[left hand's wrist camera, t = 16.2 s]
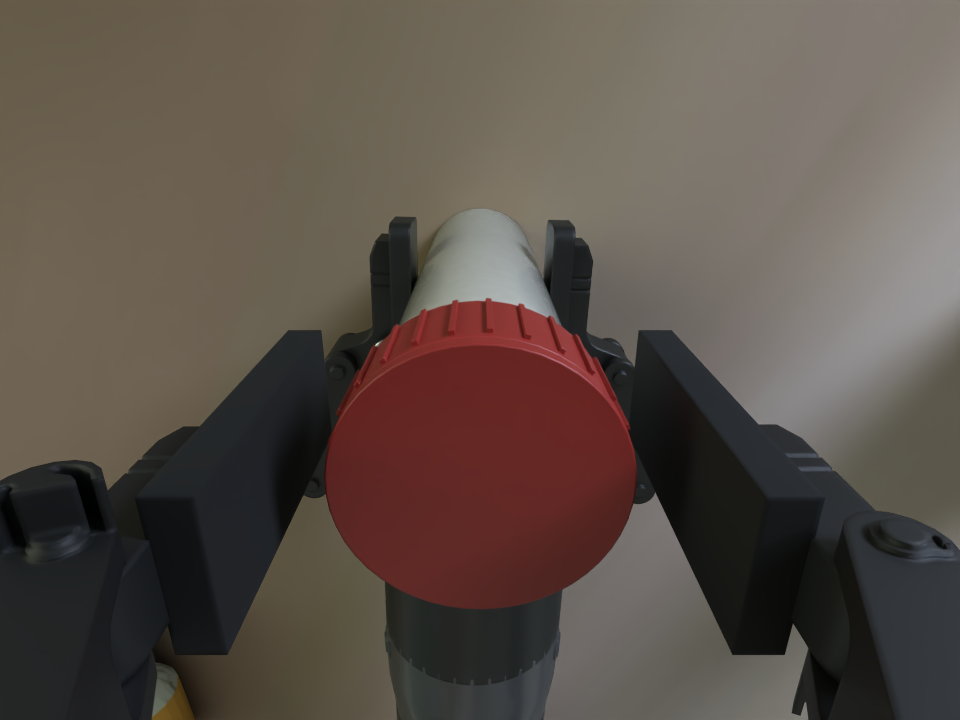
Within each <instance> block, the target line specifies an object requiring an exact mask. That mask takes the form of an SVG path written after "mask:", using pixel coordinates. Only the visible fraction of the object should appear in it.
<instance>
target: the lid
mask: <svg viewBox="0 0 960 720" xmlns="http://www.w3.org/2000/svg"><path fill="white" fill-rule="evenodd" d="M336 415H338V416H339V418H338V420H337V422H336V425H335V427H334V429H333V431H332V433H331V435H330V437H329V439H328V443H327V445H329V446H328V450H327V454H326V459H325V471H324V480H325V493H326V497H327V502H328V506H329V510H330V513H331V515H332V518H333V520H334V523H335V526H336V528H337V529H338V531H339V533H340V535H341V536H342V538H343V540H344V542H345V543H346V544H347V546H348V547H349V548H350V550H351V551H352V552H353V554H354V555H355V556H356V557H357V558H358V559H359V560H360V561H361V562H362V563H363V564H364V565H365V566H366V567H367V568H368V569H369V570H370V571H372V572H373V573H374V574H376V575H377V576H378V577H379V578H381V579H382V580H384V581H385V582H387V583H388V584H390V585H392V586H393V587H395V588H397V589H399V590H401V591H403V592H405V593H407V594H409V595H411V596H414V597H417V598H419V599H422V600H425V601H428V602H431V603H436V604H440V605H444V606H449V607H456V608H464V609H495V608H505V607H511V606H517V605H522V604H525V603H529V602H532V601H536V600H539V599H542V598H544V597H547V596H549V595H552V594H554V593H556V592H558V591H560V590H562V589H564V588H566V587H568V586H569V585H571V584H573V583H574V582H576V581H577V580H579V579H580V578H581V577H583V576H584V575H586V574H587V573H588V572H589V571H590V570H592V569H593V568H594V567H595V566H596V565H597V564H598V563H599V562H600V561H601V560H602V559H603V558H604V557H605V556H606V554H607V553H608V552H609V551H610V550H611V549H612V547H613V546H614V544H615V543H616V541H617V540H618V538H619V537H620V535H621V533H622V531H623V529H624V527H625V525H626V523H627V521H628V518H629V515H630V512H631V509H632V506H633V503H634V497H635V491H636V474H637V467H636V460H635V454H634V449H633V445H632V442H631V439H630V436H629V433H628V431H627V430H630V426H629V423H628V421H627V419H626V417H625V415H624V413H623V411H622V409H621V407H620V405H619V403H618V401H617V397H616V395H615V393H614V391H613V389H612V387H611V385H610V383H609V381H608V379H607V377H606V375H605V373H604V371H603V369H602V367H601V365H600V363H599V361H598V360H597V358H596V357H594V358H591V356H590V355H589V353H588V352H587V351H586V349H585V348H584V346H583V344H582V342H581V340H580V337H579V336H578V335H577V334H574V335H572V334H570V333H569V332H568V331H567V330H565V329H564V328H563V327H562V326H561V325H559V324H557V323H556V321H555V319H554V317H552V316H550V315H549V317H548V318H547V317H546V316H544V315H541V314H539V313H537V312H535V311H532V310H530V309H527V308H525V306H524V304H521V303H519V305H518V306H517V305H513V304H508V303H502V302H496V301H492V299H491V298H486V301H467V302H458V300H453V301H452V304H448V305H444V306H440V307H437V308H434V309H432V310H429V311H427V310H426V309H423V310H421V311H420V315H418V316H416V317H414V318H412V319H410V320H408V321H407V322H405V323H404V324H402V325H401V326H399V325H398V324H396V325H395V326H394V327H393V329H392V331H391V333H390V334H389V335H388V336H387V337H386V338H385V339H384V340H383V341H382V342H381V343H380V344H379V346H378V347H377V346H375V345H373V347H372V348H371V350H370V352H369V354H368V356H367V358H366V360H365V362H364V364H363V366H362V368H361V370H357V372H356V374H355V376H354V378H353V380H352V382H351V384H350V386H349V388H348V390H347V392H346V394H345V396H344V398H343V400H342V402H341V404H340V406H339V408H338V411H337V413H336Z"/></svg>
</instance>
